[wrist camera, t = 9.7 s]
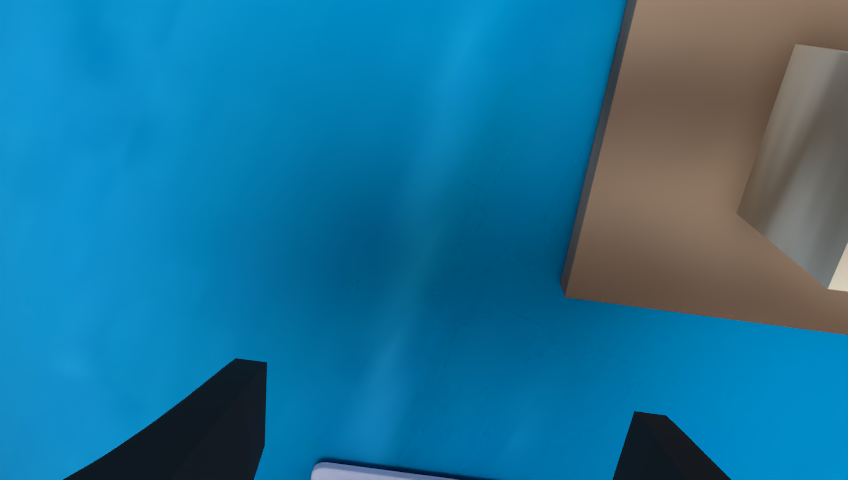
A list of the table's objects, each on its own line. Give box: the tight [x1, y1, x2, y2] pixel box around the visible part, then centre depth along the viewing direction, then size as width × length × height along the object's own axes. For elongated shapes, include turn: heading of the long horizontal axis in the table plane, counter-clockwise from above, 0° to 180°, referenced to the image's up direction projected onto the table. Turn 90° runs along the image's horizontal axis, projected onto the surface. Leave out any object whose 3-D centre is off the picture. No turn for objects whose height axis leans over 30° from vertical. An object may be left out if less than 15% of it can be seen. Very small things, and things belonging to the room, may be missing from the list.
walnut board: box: [560, 0, 848, 335], centre depth 18 cm, size 12×14×1 cm
